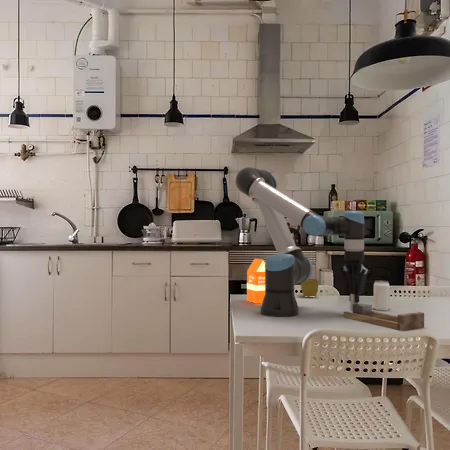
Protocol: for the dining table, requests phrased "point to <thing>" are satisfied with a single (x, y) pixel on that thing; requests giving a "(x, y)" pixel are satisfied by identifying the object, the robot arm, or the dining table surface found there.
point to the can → (381, 295)
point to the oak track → (391, 320)
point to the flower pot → (310, 287)
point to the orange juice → (256, 281)
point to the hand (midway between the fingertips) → (354, 310)
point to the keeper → (362, 309)
